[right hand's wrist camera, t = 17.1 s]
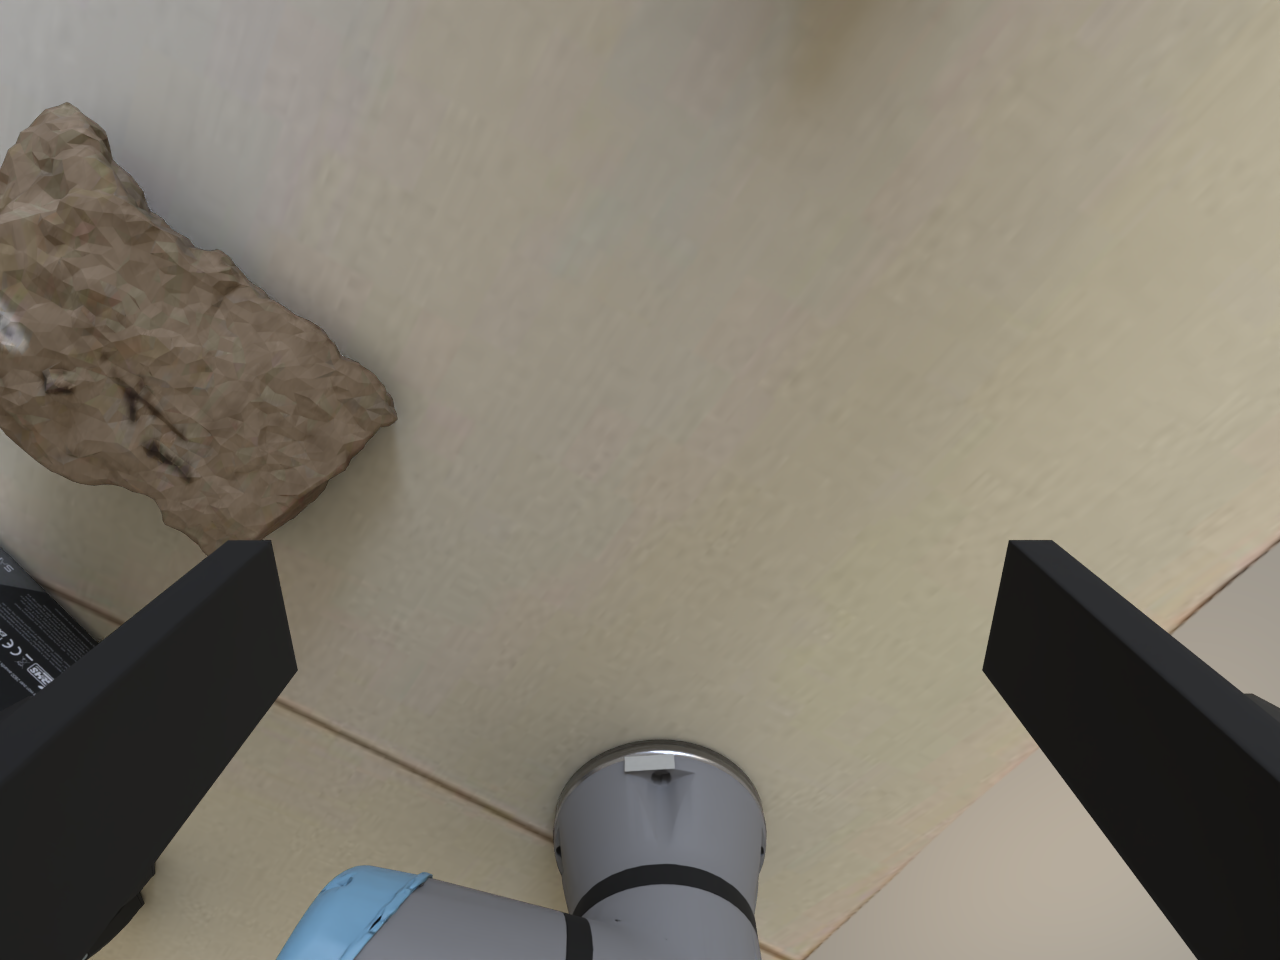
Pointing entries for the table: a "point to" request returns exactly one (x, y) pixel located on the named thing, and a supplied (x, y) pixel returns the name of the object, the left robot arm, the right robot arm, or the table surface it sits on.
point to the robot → (122, 916)
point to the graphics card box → (33, 635)
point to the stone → (159, 352)
